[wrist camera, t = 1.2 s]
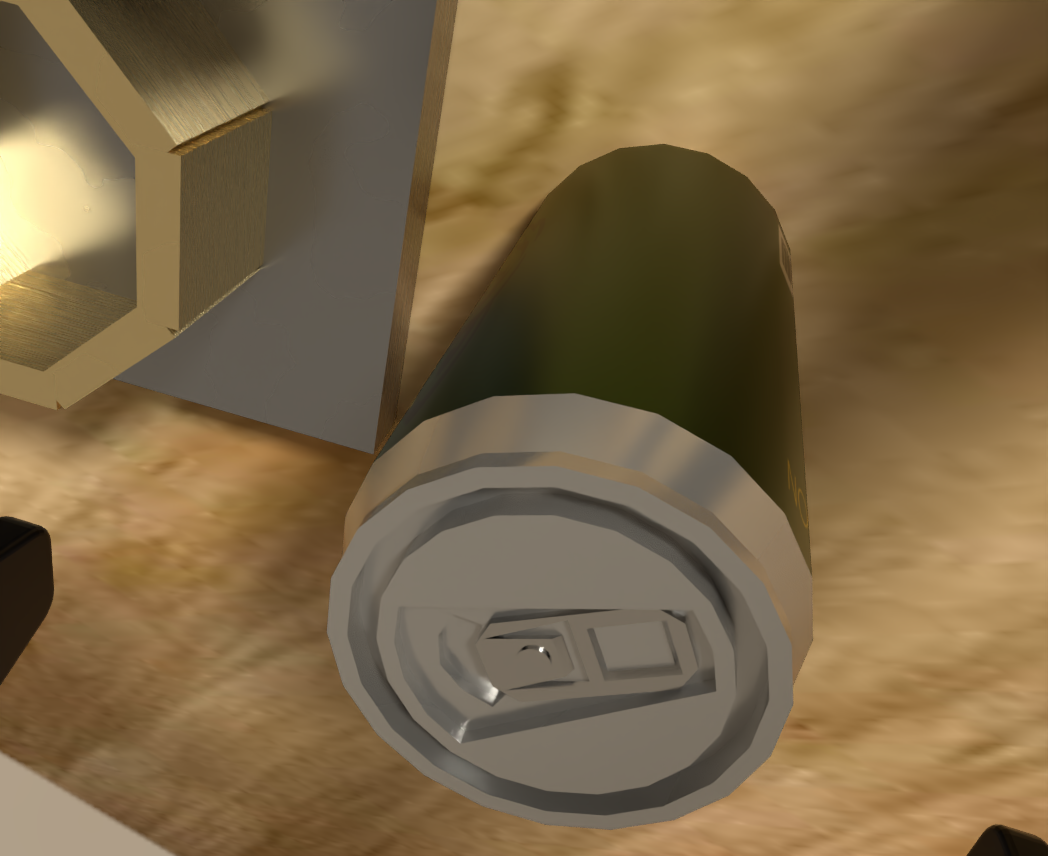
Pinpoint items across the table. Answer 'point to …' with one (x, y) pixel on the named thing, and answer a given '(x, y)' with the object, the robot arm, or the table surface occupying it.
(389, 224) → the cup bracket
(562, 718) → the green soda can
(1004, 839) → the robot arm
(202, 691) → the table surface
